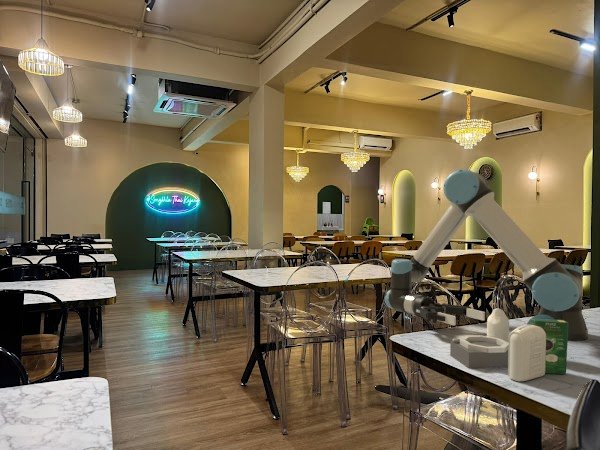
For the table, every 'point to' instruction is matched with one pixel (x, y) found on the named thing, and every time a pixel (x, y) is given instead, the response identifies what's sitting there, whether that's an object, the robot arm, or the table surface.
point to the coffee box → (554, 344)
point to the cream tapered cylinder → (498, 325)
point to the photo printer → (526, 353)
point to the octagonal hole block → (480, 351)
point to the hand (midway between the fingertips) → (469, 318)
